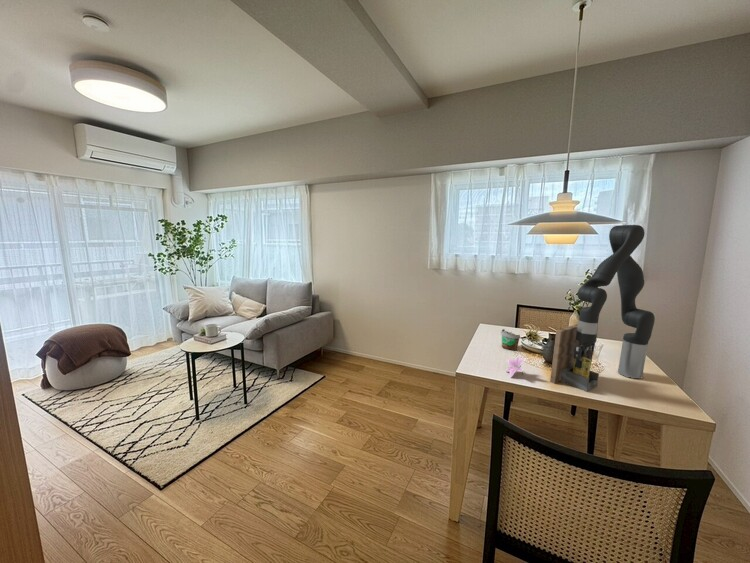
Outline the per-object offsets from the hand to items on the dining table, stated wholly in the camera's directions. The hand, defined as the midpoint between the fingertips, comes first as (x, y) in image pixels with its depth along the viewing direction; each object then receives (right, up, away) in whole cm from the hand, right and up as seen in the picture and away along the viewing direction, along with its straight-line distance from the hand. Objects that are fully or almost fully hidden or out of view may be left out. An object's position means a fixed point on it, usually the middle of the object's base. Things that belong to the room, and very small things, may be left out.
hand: (582, 365), depth 136 cm
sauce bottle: (0, -7, +1) cm, 7 cm away
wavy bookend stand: (-1, -9, +3) cm, 9 cm away
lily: (-26, -7, +10) cm, 29 cm away
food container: (-15, -2, +43) cm, 46 cm away
